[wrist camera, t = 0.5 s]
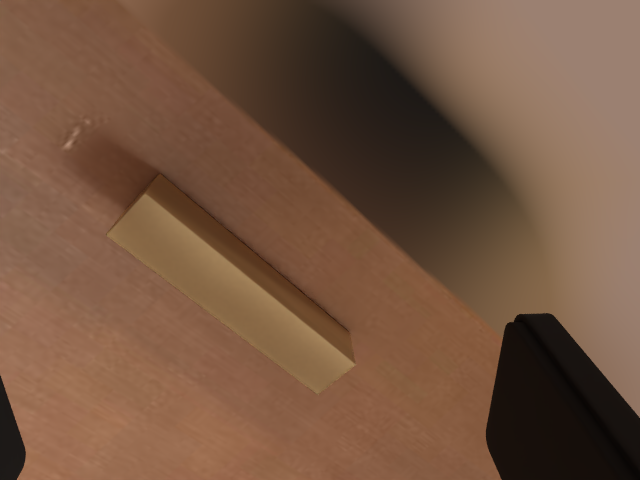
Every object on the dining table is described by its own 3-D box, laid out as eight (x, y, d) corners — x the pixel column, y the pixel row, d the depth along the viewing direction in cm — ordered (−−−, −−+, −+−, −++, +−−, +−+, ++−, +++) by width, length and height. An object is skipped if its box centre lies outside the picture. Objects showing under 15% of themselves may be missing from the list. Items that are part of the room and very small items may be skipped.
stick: (159, 172, 22) (144, 192, 19) (350, 332, 26) (356, 364, 23) (124, 211, 22) (105, 235, 20) (315, 361, 26) (317, 395, 24)
